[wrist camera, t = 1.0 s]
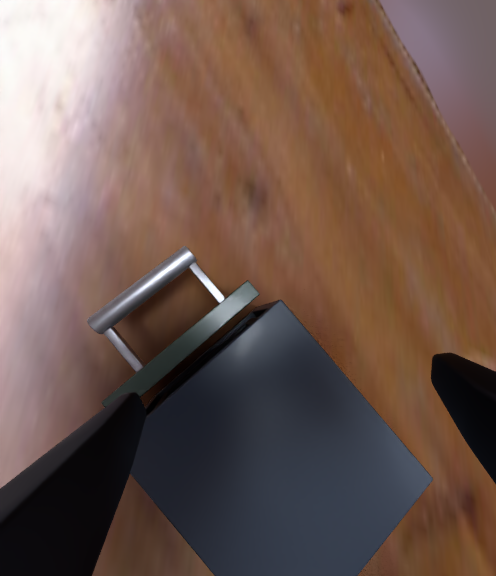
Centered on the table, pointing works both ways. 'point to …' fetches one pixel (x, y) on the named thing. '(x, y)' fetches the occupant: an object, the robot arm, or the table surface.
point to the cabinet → (275, 457)
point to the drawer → (186, 342)
